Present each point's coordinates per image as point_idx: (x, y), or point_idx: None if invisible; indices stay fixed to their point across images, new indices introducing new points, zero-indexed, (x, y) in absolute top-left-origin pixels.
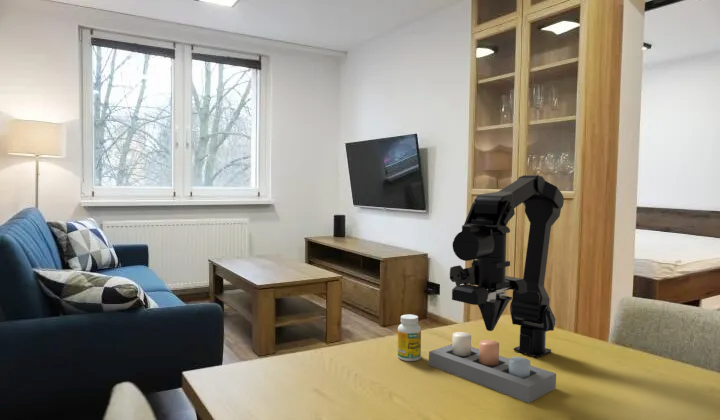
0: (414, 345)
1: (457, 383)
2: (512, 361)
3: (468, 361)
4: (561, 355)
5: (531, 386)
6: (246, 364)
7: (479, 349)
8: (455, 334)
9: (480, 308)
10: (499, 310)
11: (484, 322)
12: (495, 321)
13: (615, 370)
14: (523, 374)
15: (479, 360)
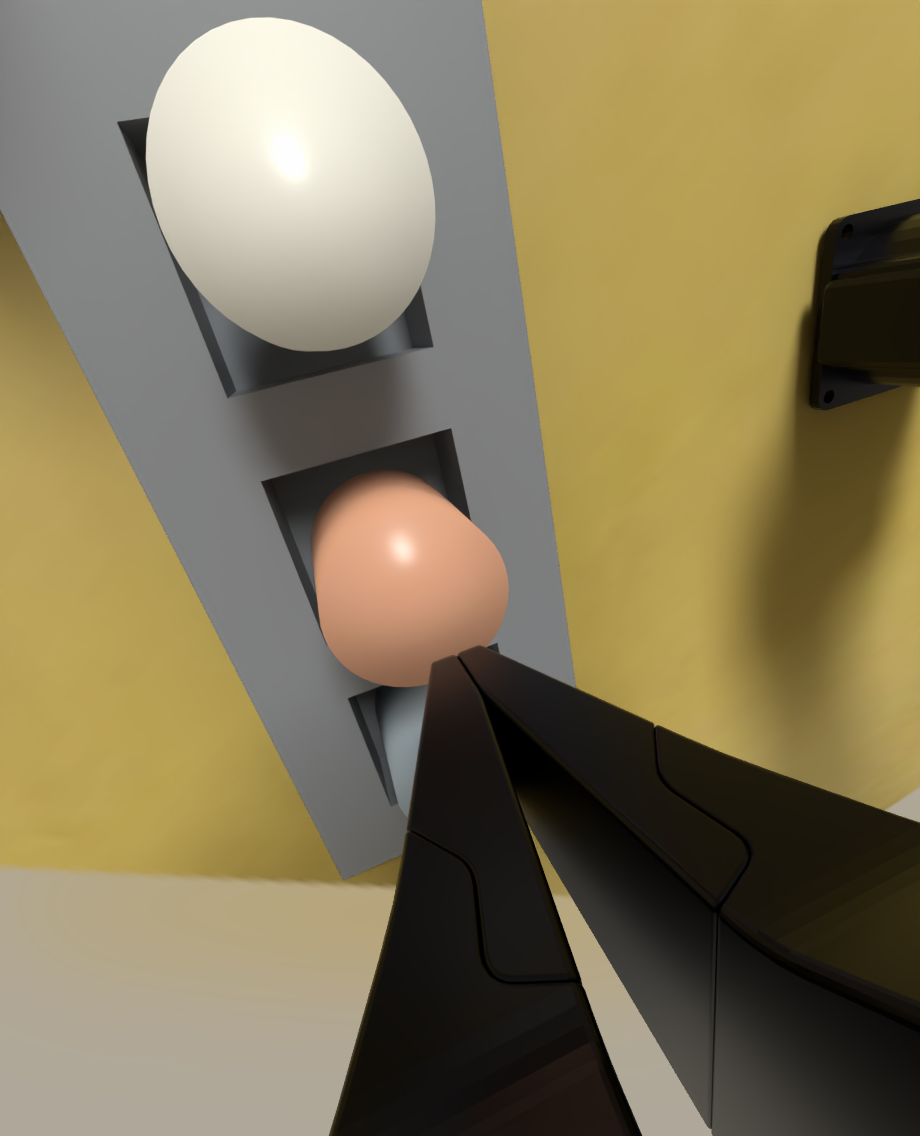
0: None
1: (80, 535)
2: (409, 783)
3: (228, 478)
4: (911, 429)
5: (364, 867)
6: None
7: (321, 549)
8: (206, 127)
9: (376, 1043)
10: (669, 1050)
11: (423, 727)
12: (532, 830)
13: (872, 644)
14: None
15: (315, 522)
